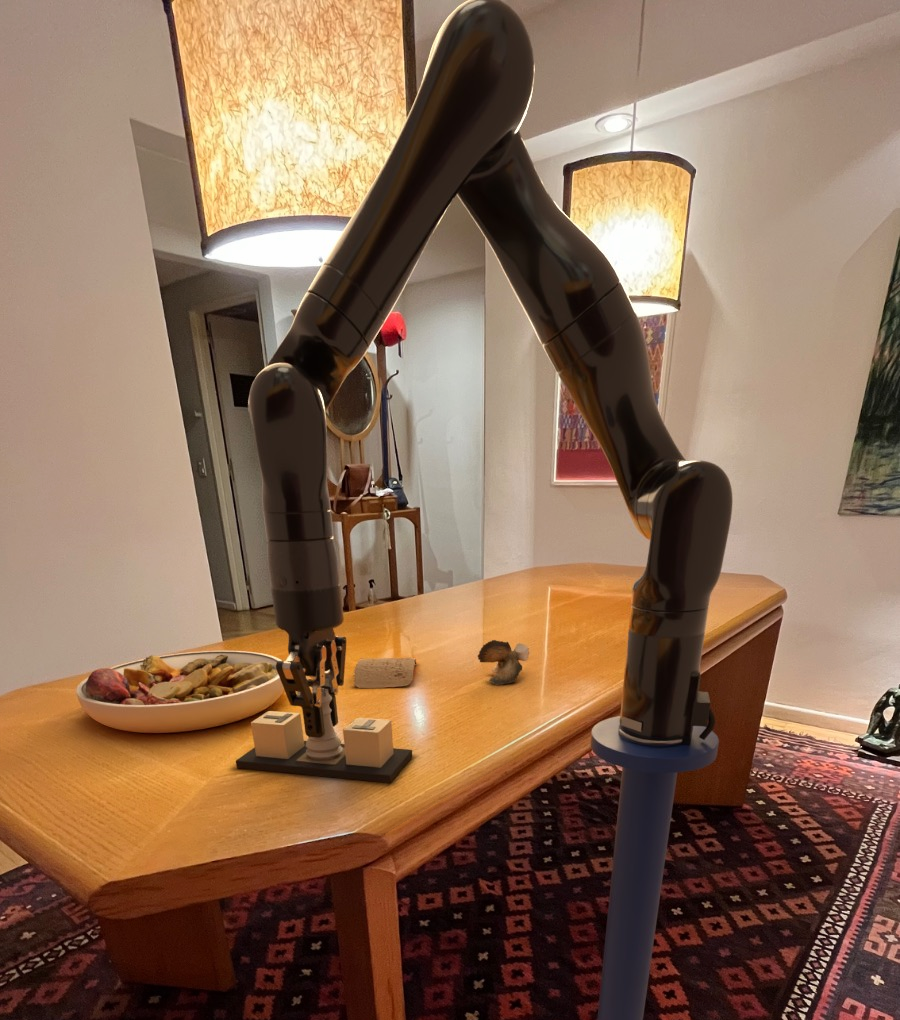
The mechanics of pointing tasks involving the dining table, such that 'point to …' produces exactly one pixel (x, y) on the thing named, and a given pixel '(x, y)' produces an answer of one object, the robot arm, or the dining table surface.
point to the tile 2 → (368, 742)
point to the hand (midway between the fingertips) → (322, 729)
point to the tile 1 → (277, 734)
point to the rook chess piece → (325, 735)
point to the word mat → (327, 765)
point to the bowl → (181, 691)
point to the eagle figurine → (504, 660)
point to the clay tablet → (384, 672)
